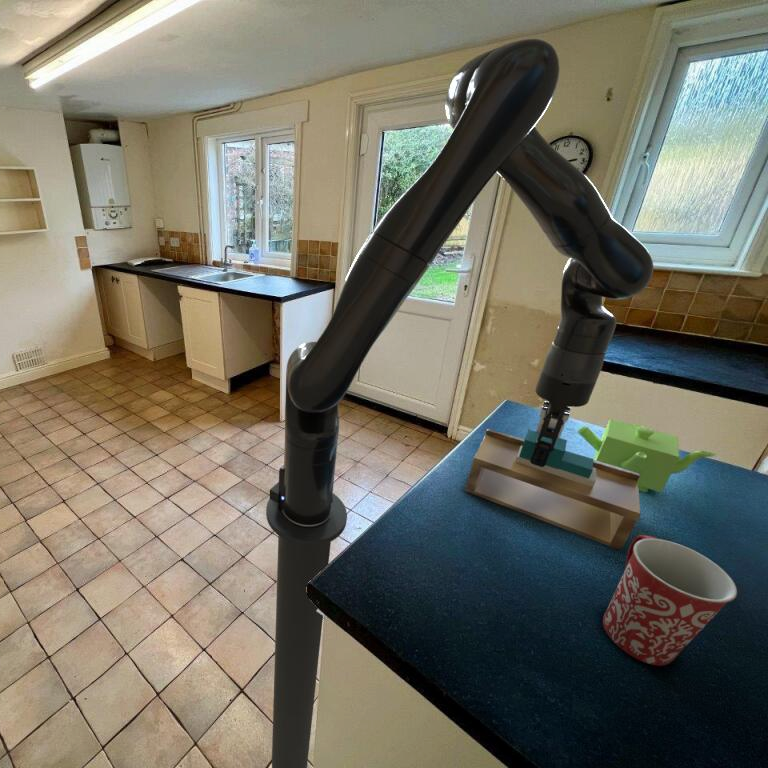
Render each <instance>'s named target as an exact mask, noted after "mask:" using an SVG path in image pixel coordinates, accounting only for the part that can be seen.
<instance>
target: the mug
mask: <svg viewBox="0 0 768 768" xmlns="http://www.w3.org/2000/svg"><path fill="white" fill-rule="evenodd" d="M737 597H738V588H737V586H736V583H735V582H734V580H733V579H732V578H731V576H730V575H729V574H728V573H727V572H726V571H725V570H724V569H723V568H722V567H721V566H720V565H718V564H717V563H715V562H714V561H712V560H711V559H710V558H708V557H706V556H705V555H703V554H702V553H700V552H697V551H696V550H694V549H692V548H689V547H688V546H685V545H682V544H679V543H677V542H674V541H670V540H666V539H661V538H657V537H654V536H651V535H645V534H639V535H637V536H635V537H634V539H633V540H632V541H631V543H630V544H629V548H628V551H627V554H626V558H625V564H624V571H623V574H622V576H621V578H620V580H619V582H618V585H617V587H616V589H615V591H614V593H613V595H612V597H611V599H610V602H609V604H608V607H607V608H606V611H605V612H604V615H603V618H602V625H603V629H604V630H605V632H606V634H607V636H608V637H609V638H610V640H611V641H612V642H613V643H614V644H615V645H616V647H617V646H618V648H619V649H621V650H622V651H623V652H625V653H626V654H628V655H629V656H631V657H632V658H635V659H637V660H638V661H640V662H642V663H644V664H648V665H653V666H668V665H669V664H671V663H672V662H673V661H674V660H675V659H676V658H677V657H678V656H679V655H680V653H681V652H682V651H683V650H684V649H685V647H686V646H687V645H688V644H690V643H691V642H692V640H693V639H695V637H696V636H697V635H698V634H700V632H701V631H702V630H703V629H704V628H705V627H706V626H707V625H708V624H709V623H710V622H711V620H712V619H714V617H715V616H716V615H717V614H718V613H719V612H720V611H721V610H722V608H724V607H725V606H726V604H728V603H731V602H733V601H734V600H735V599H736V598H737Z"/></svg>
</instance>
